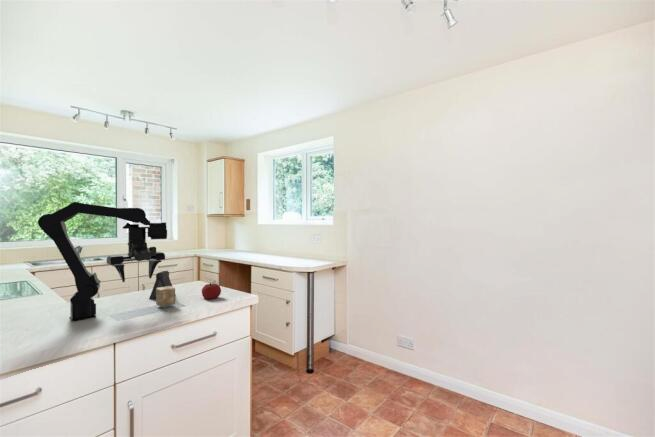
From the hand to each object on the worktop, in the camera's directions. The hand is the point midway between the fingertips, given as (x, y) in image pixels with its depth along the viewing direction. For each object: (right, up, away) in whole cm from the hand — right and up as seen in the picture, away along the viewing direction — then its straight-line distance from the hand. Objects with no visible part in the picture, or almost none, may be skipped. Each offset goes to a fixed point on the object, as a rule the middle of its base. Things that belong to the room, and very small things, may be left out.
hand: (137, 280), depth 119 cm
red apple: (+22, -12, +18) cm, 31 cm away
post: (+9, -12, +4) cm, 15 cm away
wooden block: (+9, -11, +4) cm, 14 cm away
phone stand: (0, -12, +18) cm, 22 cm away
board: (+5, -12, 0) cm, 13 cm away
